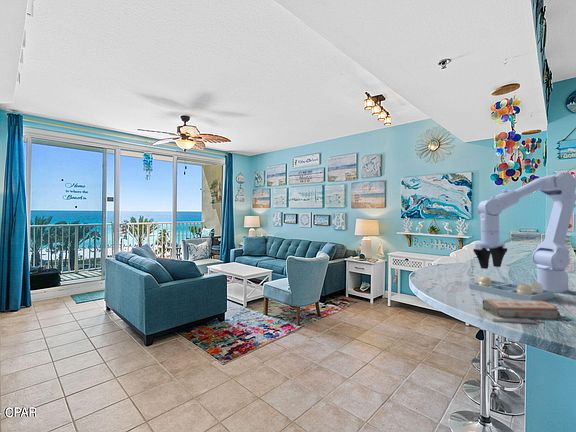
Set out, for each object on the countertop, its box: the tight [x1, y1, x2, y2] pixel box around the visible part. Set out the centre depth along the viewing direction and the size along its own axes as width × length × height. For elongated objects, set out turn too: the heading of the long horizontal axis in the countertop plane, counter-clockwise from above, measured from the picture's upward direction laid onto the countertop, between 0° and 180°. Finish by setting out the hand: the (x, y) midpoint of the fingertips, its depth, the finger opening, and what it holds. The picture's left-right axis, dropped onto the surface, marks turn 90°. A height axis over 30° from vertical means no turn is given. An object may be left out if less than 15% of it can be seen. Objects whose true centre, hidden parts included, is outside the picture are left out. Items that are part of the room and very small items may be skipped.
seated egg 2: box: [527, 281, 543, 293], centre depth 97 cm, size 4×4×5 cm
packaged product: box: [474, 298, 561, 325], centre depth 81 cm, size 18×5×10 cm
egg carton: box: [468, 279, 555, 301], centre depth 102 cm, size 14×20×3 cm
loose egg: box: [478, 276, 492, 287], centre depth 106 cm, size 4×4×5 cm
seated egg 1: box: [517, 282, 532, 296], centre depth 95 cm, size 4×4×5 cm
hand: (490, 267), depth 107 cm, fingers open, 7 cm apart
